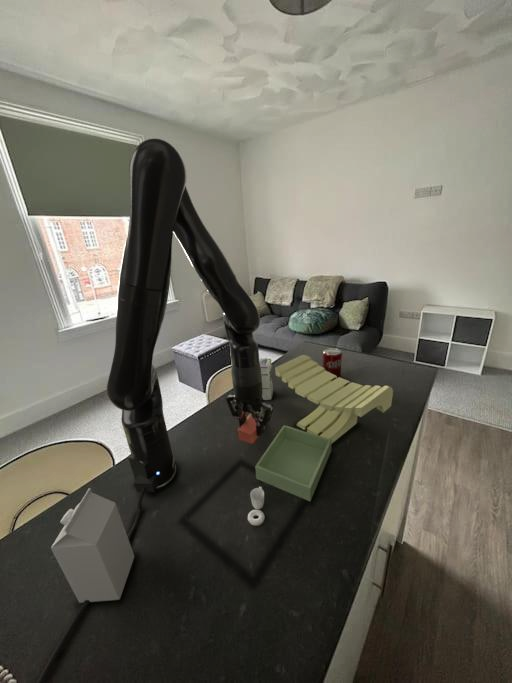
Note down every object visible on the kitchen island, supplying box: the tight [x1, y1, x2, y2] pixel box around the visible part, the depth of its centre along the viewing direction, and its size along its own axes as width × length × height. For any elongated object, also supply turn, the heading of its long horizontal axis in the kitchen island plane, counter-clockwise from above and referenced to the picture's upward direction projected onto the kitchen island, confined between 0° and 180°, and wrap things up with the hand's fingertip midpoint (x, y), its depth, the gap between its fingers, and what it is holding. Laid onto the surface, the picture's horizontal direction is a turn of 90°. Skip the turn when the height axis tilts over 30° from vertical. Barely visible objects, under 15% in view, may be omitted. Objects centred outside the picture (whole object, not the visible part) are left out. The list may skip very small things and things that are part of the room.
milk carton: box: [50, 487, 135, 604], centre depth 48 cm, size 7×7×19 cm
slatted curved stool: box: [274, 354, 394, 445], centre depth 85 cm, size 30×16×18 cm, turn 39°
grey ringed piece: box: [247, 485, 265, 527], centre depth 63 cm, size 9×8×4 cm
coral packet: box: [237, 415, 266, 445], centre depth 77 cm, size 7×4×3 cm, turn 150°
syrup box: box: [259, 357, 274, 401], centre depth 102 cm, size 6×6×14 cm
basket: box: [254, 424, 332, 502], centre depth 73 cm, size 17×14×4 cm
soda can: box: [322, 347, 343, 378], centre depth 112 cm, size 7×7×12 cm
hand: (252, 431), depth 77 cm, fingers closed on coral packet, 4 cm apart
